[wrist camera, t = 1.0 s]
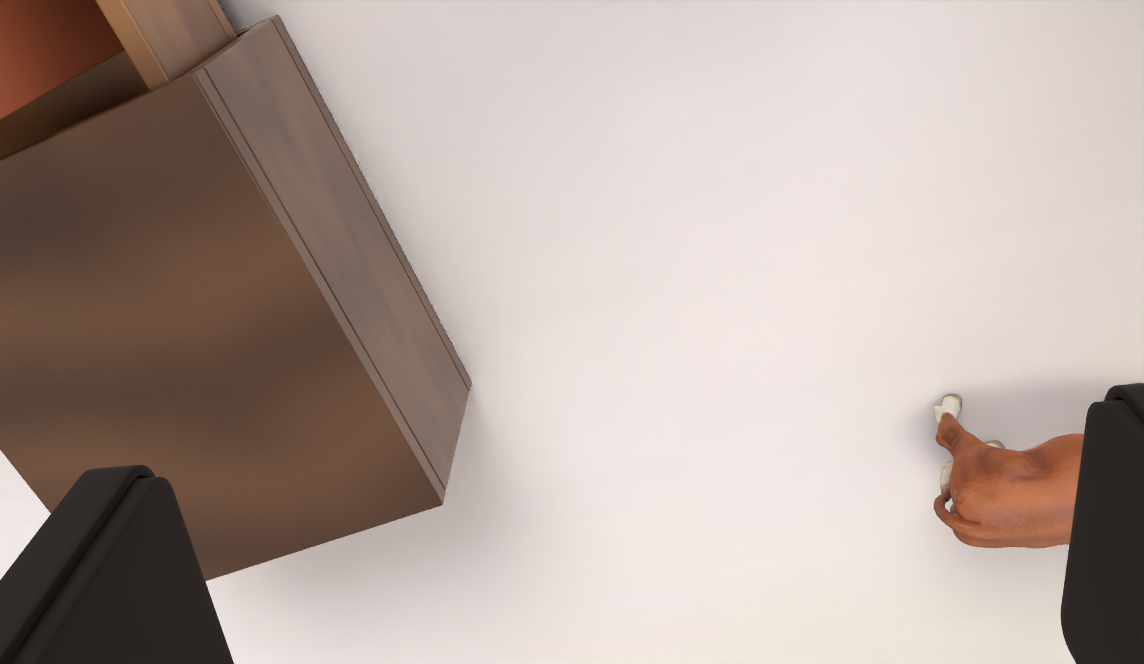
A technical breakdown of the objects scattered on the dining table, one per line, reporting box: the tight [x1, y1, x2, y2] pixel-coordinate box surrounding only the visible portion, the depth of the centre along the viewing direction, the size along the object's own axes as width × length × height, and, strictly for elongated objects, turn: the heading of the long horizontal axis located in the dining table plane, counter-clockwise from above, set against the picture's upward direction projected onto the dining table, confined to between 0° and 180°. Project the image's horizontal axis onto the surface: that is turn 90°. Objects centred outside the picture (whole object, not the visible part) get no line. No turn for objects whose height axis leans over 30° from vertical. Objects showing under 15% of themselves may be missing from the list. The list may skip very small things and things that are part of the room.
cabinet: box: [0, 15, 471, 581], centre depth 39 cm, size 17×14×9 cm
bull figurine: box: [934, 383, 1141, 548], centre depth 41 cm, size 4×13×8 cm, turn 90°
